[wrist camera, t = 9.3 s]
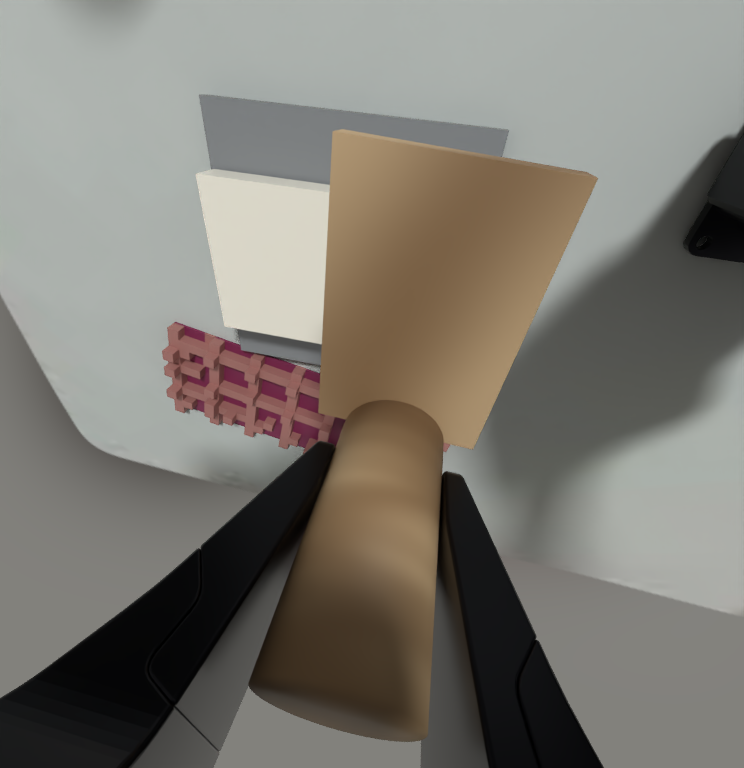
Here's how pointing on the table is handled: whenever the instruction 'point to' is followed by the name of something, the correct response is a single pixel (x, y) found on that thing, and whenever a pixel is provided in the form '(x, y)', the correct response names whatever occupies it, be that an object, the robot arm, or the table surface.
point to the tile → (267, 251)
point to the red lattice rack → (247, 389)
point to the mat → (311, 160)
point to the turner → (404, 408)
